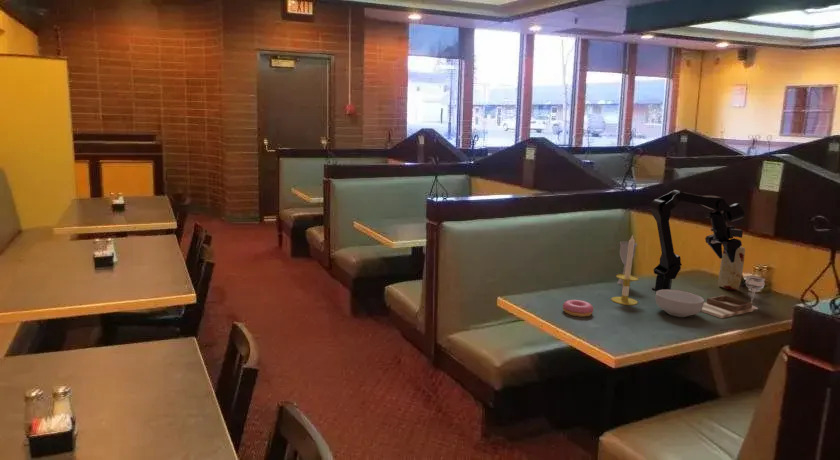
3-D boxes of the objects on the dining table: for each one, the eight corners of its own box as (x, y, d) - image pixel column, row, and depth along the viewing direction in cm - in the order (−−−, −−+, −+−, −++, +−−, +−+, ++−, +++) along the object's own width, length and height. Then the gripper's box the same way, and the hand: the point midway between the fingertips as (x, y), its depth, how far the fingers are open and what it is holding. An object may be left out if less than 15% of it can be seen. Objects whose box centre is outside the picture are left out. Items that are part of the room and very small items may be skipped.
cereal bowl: (682, 323, 226) (685, 304, 224) (644, 309, 239) (646, 291, 238) (711, 317, 235) (714, 299, 233) (672, 304, 248) (675, 287, 247)
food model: (713, 286, 279) (720, 242, 275) (722, 285, 282) (729, 241, 279) (735, 292, 271) (742, 247, 267) (743, 291, 274) (750, 246, 271)
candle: (622, 296, 256) (630, 230, 250) (643, 303, 247) (652, 236, 242) (605, 299, 250) (613, 232, 245) (626, 306, 242) (635, 237, 237)
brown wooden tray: (721, 318, 234) (722, 310, 234) (690, 307, 245) (691, 300, 245) (753, 311, 246) (754, 303, 245) (722, 301, 256) (723, 294, 256)
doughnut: (581, 307, 238) (582, 297, 237) (599, 317, 228) (600, 306, 227) (556, 309, 234) (557, 298, 233) (573, 319, 224) (574, 308, 223)
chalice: (633, 283, 276) (638, 243, 273) (631, 287, 270) (636, 245, 267) (615, 280, 279) (620, 240, 276) (613, 284, 273) (618, 243, 270)
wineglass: (759, 311, 246) (764, 281, 244) (740, 307, 250) (745, 278, 248) (761, 306, 252) (766, 277, 250) (742, 303, 256) (747, 274, 253)
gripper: (750, 222, 257) (757, 259, 259) (725, 217, 275) (732, 251, 277) (724, 230, 257) (731, 266, 259) (701, 224, 275) (708, 258, 277)
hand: (726, 260), depth 268 cm, fingers open, 9 cm apart
